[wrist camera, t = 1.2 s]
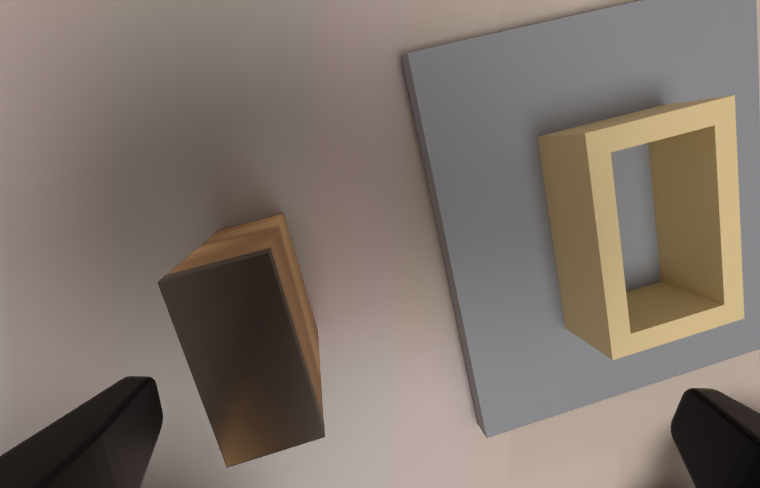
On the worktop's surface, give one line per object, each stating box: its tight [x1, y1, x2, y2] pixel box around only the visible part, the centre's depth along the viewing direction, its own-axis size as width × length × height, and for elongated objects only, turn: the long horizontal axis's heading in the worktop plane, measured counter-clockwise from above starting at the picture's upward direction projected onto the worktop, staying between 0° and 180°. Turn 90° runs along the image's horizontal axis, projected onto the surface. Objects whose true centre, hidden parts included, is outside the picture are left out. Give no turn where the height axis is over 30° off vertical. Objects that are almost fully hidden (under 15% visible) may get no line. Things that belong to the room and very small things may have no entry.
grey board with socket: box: [401, 0, 760, 438], centre depth 17 cm, size 14×16×4 cm
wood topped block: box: [158, 213, 325, 467], centre depth 14 cm, size 2×5×7 cm, turn 12°
